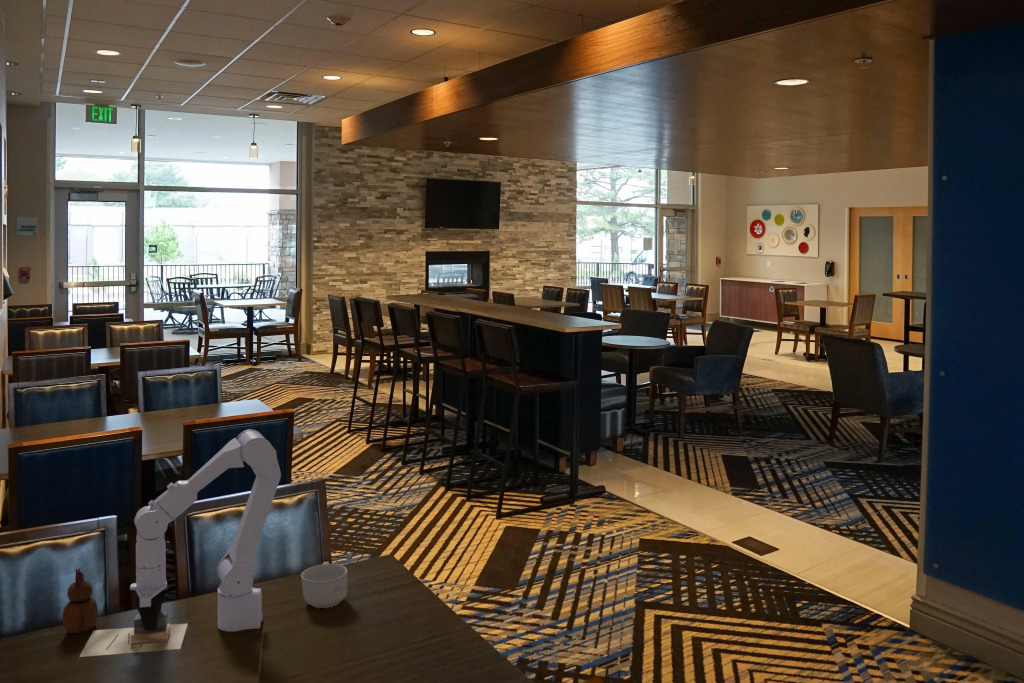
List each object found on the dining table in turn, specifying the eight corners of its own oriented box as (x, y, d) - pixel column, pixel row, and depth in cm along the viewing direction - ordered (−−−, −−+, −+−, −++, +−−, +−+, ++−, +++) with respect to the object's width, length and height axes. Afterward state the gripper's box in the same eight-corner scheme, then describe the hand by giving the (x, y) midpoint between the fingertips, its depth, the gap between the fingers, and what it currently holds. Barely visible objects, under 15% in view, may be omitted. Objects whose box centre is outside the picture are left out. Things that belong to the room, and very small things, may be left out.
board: (187, 628, 181) (187, 623, 181) (180, 654, 169) (180, 648, 169) (93, 635, 176) (93, 630, 176) (79, 662, 164) (79, 656, 164)
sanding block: (170, 632, 176) (170, 609, 176) (167, 641, 172) (166, 618, 171) (135, 634, 174) (134, 612, 174) (130, 644, 170) (130, 621, 170)
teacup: (341, 614, 191) (342, 580, 190) (295, 612, 191) (295, 579, 190) (353, 590, 205) (354, 559, 204) (310, 588, 205) (311, 557, 204)
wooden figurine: (81, 641, 173) (80, 573, 172) (57, 638, 174) (56, 570, 173) (103, 627, 180) (102, 561, 178) (80, 624, 181) (79, 558, 180)
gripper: (137, 552, 178) (137, 612, 179) (123, 578, 164) (123, 643, 165) (171, 550, 179) (172, 610, 181) (160, 576, 165) (161, 640, 167)
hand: (151, 626), depth 173 cm, fingers closed on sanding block, 3 cm apart
